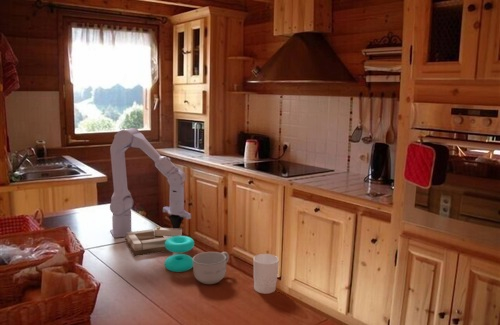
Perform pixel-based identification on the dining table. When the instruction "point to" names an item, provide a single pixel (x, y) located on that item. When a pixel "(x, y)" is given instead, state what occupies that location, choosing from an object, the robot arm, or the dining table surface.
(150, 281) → the dining table surface
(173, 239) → the donuts
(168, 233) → the hinged leg
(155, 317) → the dining table surface
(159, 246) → the stool seat
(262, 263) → the white cup
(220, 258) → the teacup
